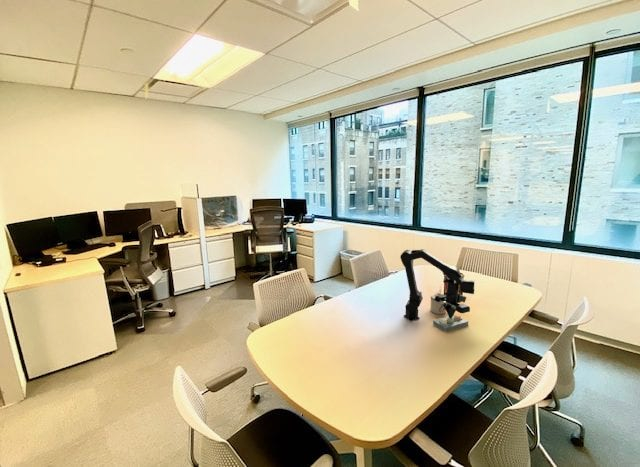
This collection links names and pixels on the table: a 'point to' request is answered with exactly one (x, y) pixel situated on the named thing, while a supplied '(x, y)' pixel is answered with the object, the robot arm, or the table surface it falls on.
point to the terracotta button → (457, 317)
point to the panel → (450, 324)
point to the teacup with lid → (437, 305)
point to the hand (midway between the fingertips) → (450, 318)
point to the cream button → (443, 321)
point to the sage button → (450, 320)
